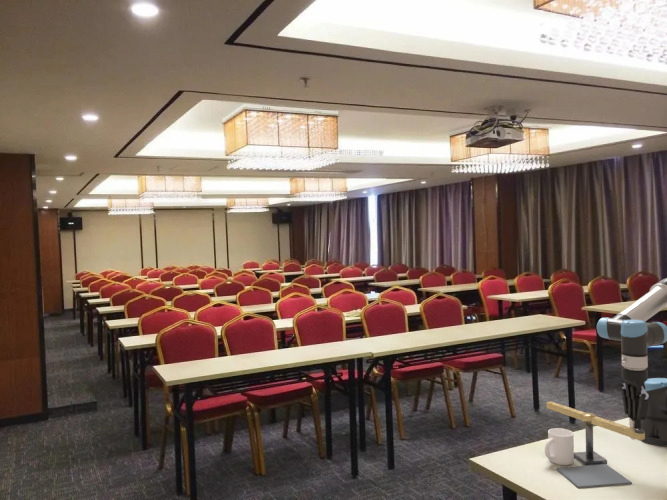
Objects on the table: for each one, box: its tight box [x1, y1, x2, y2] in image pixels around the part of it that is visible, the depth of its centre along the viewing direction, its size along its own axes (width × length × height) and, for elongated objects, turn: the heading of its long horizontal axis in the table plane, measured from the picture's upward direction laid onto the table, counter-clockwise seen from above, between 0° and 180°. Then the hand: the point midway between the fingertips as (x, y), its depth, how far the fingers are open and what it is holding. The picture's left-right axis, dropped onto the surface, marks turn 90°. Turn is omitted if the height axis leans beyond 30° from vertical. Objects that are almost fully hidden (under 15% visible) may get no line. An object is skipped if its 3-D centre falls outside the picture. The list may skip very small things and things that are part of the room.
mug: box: [544, 427, 575, 466], centre depth 194 cm, size 12×8×10 cm
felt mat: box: [555, 463, 633, 489], centre depth 182 cm, size 18×14×1 cm
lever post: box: [574, 423, 608, 466], centre depth 194 cm, size 8×8×14 cm
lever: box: [545, 401, 645, 441], centre depth 193 cm, size 38×4×3 cm, turn 26°
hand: (635, 438), depth 181 cm, fingers closed
